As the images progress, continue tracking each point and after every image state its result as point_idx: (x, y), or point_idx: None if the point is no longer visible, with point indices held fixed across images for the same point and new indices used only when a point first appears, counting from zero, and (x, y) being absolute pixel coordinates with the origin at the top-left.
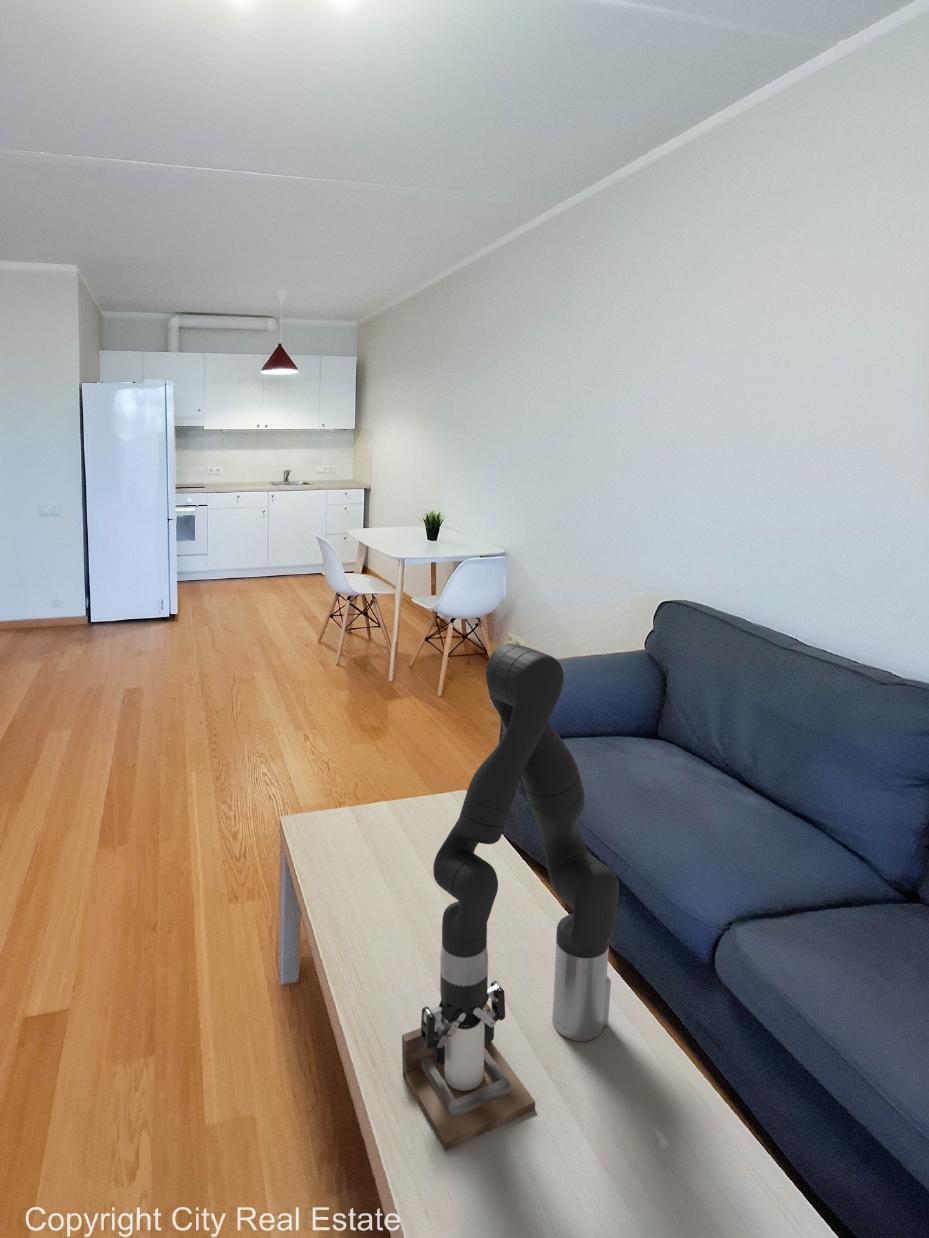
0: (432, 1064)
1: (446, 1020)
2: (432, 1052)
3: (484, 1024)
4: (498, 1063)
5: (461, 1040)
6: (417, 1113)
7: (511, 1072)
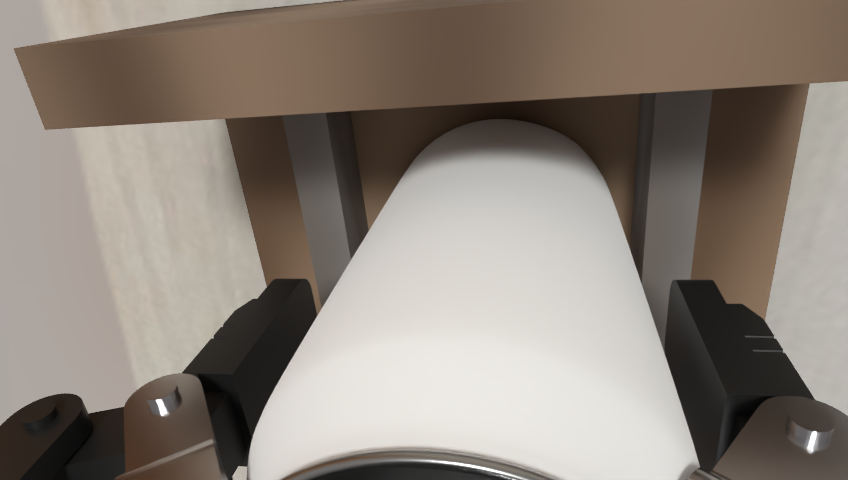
0: (326, 155)
1: (252, 471)
2: (223, 329)
3: (716, 444)
4: (729, 223)
5: None
6: (255, 247)
7: (753, 302)
